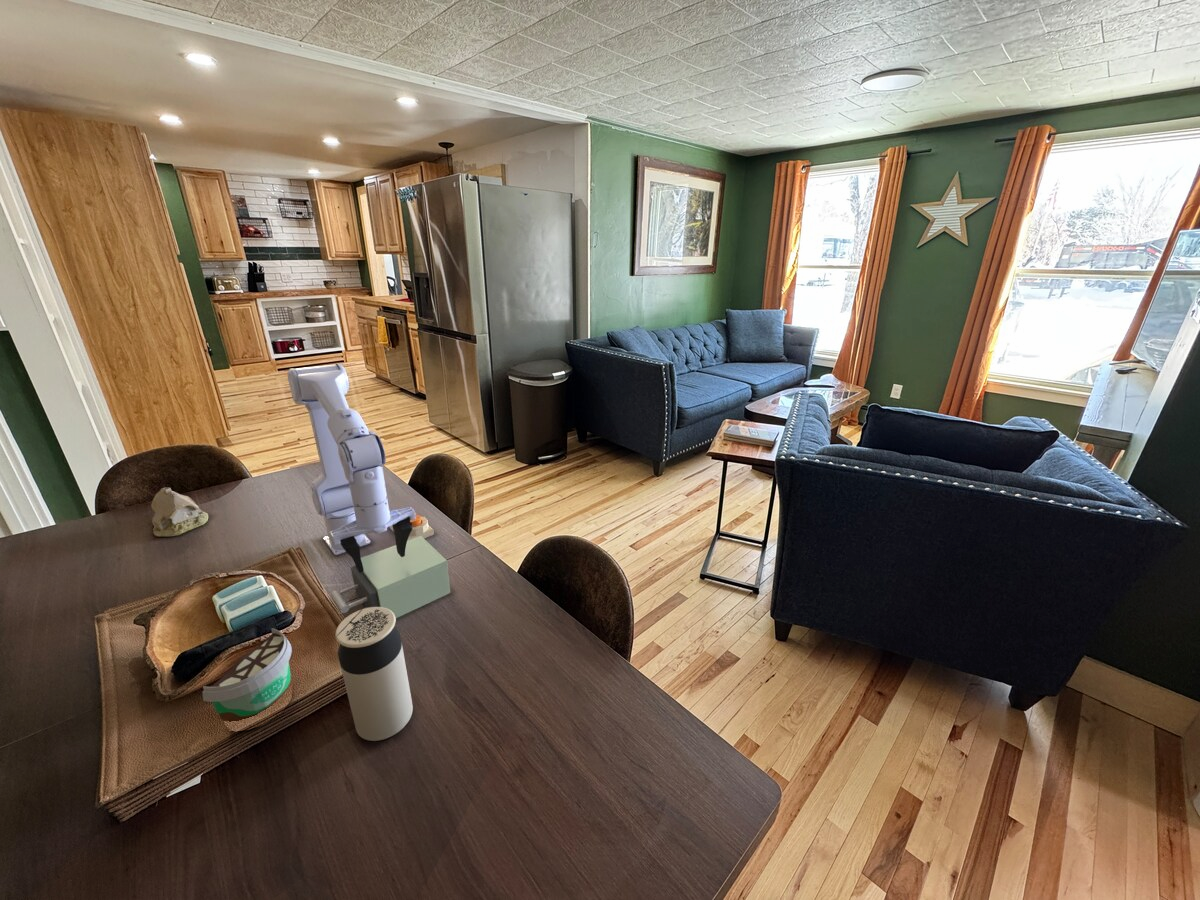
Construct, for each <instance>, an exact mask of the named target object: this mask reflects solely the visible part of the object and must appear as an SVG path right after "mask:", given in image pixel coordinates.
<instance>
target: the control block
mask: <svg viewBox="0 0 1200 900" xmlns="http://www.w3.org/2000/svg"><path fill="white" fill-rule="evenodd" d="M415 514H416V515H418V514H417V513H416V512H415ZM420 517H421V525H419V526H416V527H413V529H412V531H411V533H410V535H409V537H408V540H411V539H414V538H416V537H419V536H422V537H423V538H424V539H426V538H429V537H431V536H434V535H435V533H434V529H433V528H432V527H431V525H429V520H428V519H427V518H426V517H425V516H421V515H420ZM388 528H389V529H390V530H391V531H392V533H394V530H393V526H392V525H391V526H389V527H388ZM408 540H407V541H408Z"/></svg>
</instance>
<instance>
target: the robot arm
mask: <svg viewBox="0 0 1200 900" xmlns="http://www.w3.org/2000/svg"><path fill="white" fill-rule="evenodd" d="M287 380H288V384H289V388H290V392H291V393H290V394H291V396H292V400H293V402H294V404H295V405H299V406H304V407H305V408H306V410H307V412H308V415H309V419H310V420H309V421H310V424H311V428H312V433H313V437H314V441H315V446H316V450H317V454H318V459H319V465H320V468H321V474H319V476H317V477H316V478H315V479H314V480H313V481H312V482H311V485H310V488H311V497H312V502H313V506H314V508H315V511H316V513H317V515H319V516H320V517H323V521H324V525H325V529H326V534H327V535H326V536H324V537H323V540H324V542H325V543H326V545H327V547H328V548H329V549H330V550H331V552H332V554H333V555H334V556H339V555H341V554H344V553H347V554H348V556H350V557H351V559H352V561H353V562H354V564H355V565H354V566H356V568H357V570H358V571H359V573H361V572H364V569H363V565H362V561H361V558H362V557H361V547H365V546H367V545H370V544H371V543H372V542H371V540H370V539H369V537H368V536H367V535H368V534H372V533H374V534H376V535H379V534H382V533H384V532H387V530H388V528H390V527H389V526H391V525H392V526H393V530H394V532H393V533H394V538H395V545H396V548H397V552H398V554H399V555H400V556H401V557H404V556H405V549H406V544H407V540H408V537H409V535H410V533H411V531H412V529H413V525H412V523H411V522H410V520H414V519H416V518H415V513H416V512H415V511H416V510H414V508H413V507H412V506H408V507H404V508H399V509H392V510H390V507H389V506H390V505H389V501H388V494H387V488H386V482H385V476H384V469H383V466H384V465H386V462H387V461H386V460H387V458H386V452H385V448H384V447H385V446H384V445H383V441H382V440H381V437H380V436H379V434H378V433H376V432H374V431H373V430H369V428H368V426H367V424H366V423H365V421H364V420H363V418H362V416H361V414H360V412H358V411H357V410H355V409H352V408H350V406H349V404H348V401H347V399H346V395H347V394H348V392H349V389H350V382H349V381H350V380H349V378H348V374H347V371H346V369H345V367H344V366H343V365H342V364H341V363H338V362H337V363H334V364H327V365H318V366H317V365H316V366H308V367H299V368H291V367H290V368H289V369H288V371H287ZM382 465H383V466H382Z"/></svg>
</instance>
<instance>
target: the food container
mask: <svg viewBox="0 0 1200 900" xmlns="http://www.w3.org/2000/svg"><path fill="white" fill-rule="evenodd" d="M270 629H271V634H270V635H269V636H268V637H267V638H265V640H264V641H263V642H261V643H260V644H259V645H258V646H256V647H255V648H253V649H252V650H250V651H249V652H248V653H246V654H244V655H243V656H242V657H241V658H240V659H239V660H238V661H237V662H236V663H235V664H234V665H233V666H232V667H231V668H230V669H229V670H228V671H227V672H226V673H225V674H224V675H223V676H222V677H221V678H219V680H217V681H216V682H215V683H214V684H213V685H211V686H204V685H203V686H202V688H203V691H202V700H203V702H208V703H211V704H212V706H213V707H214V709H215V711H216V712H217V714H218V716H219V717H220V719H221V720H223V721H229V722H231V721H239V720H242V719H246V718H249V717H252V716H255V715H257V714H258V713H260V712H262V711H264V710H266V709H267V708H269V707H270V706H272V705H273V704H275V703H276V702H277V701H278V700H280V699H281V698H282V697H283V695H284V694H286V692H287V690H288V689H289V687H290V684H291V680H292V674H291V669H290V662H289V661H290V659H291V657H292V652H293V648H292V644H291V642H290V641H289V640H288V638H287V636H286V635H285V634H284V633H283V632H281V631H280V630H278V629H276V628H270ZM223 721H222V722H223Z"/></svg>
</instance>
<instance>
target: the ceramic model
mask: <svg viewBox="0 0 1200 900" xmlns="http://www.w3.org/2000/svg"><path fill="white" fill-rule="evenodd" d="M150 505H151V509H152V511H153V512H155V513H154V514H153V517H152V519H151V522H152V526H154V527H153V529H152V531H153V532H152V533H153V535H154V536H155V537H175V536H180V535H182V534H184V533H186V532H188V531H190V530H191V531H192V530H193V529H195V528H199V527H201V526H203V525H205V524H206V523H207V522H208V519H209V513H207V512H206V511H203V510H202V509H200V507H199V505H198V504H197V503H196V502H195V501H194V500H193V499H192V498H191V497H189V496H188V495H183V494H181V493H178V492H176V491H173V490H172V489H171V487H168V486H167V487H165V486H164V487H162V488H160V489H159V491H158V492H157V493H155V495H154V497H153V499H152V502H151V504H150Z"/></svg>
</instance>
